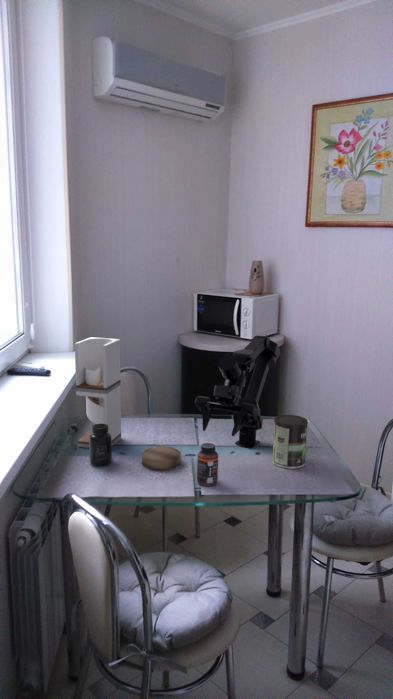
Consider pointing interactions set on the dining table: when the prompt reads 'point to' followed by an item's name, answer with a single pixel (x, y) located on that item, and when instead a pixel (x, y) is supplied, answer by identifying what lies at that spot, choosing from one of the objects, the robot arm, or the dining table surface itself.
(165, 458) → the walnut stand
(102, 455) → the supplement bottle
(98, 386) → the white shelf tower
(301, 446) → the coffee can
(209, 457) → the supplement bottle
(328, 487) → the dining table surface
